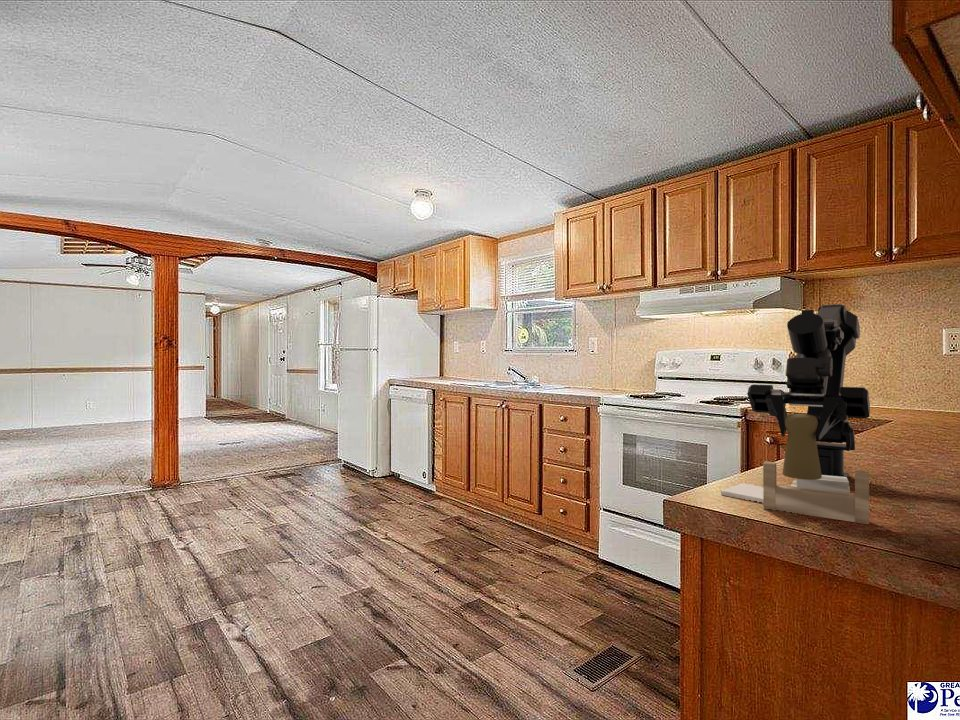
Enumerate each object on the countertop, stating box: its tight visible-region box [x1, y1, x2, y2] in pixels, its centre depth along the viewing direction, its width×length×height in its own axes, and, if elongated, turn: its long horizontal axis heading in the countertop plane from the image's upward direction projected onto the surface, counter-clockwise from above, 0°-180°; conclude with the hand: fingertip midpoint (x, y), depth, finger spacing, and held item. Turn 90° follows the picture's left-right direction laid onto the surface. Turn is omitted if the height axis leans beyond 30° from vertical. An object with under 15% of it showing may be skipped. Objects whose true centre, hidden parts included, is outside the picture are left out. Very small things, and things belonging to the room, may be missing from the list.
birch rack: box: [762, 460, 870, 525], centre depth 88 cm, size 2×15×8 cm, turn 54°
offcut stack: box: [789, 475, 851, 494], centre depth 98 cm, size 5×9×4 cm, turn 53°
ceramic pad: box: [720, 483, 763, 504], centre depth 100 cm, size 8×8×1 cm
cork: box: [782, 413, 822, 480], centre depth 93 cm, size 6×6×11 cm
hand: (799, 436), depth 92 cm, fingers closed on cork, 5 cm apart
